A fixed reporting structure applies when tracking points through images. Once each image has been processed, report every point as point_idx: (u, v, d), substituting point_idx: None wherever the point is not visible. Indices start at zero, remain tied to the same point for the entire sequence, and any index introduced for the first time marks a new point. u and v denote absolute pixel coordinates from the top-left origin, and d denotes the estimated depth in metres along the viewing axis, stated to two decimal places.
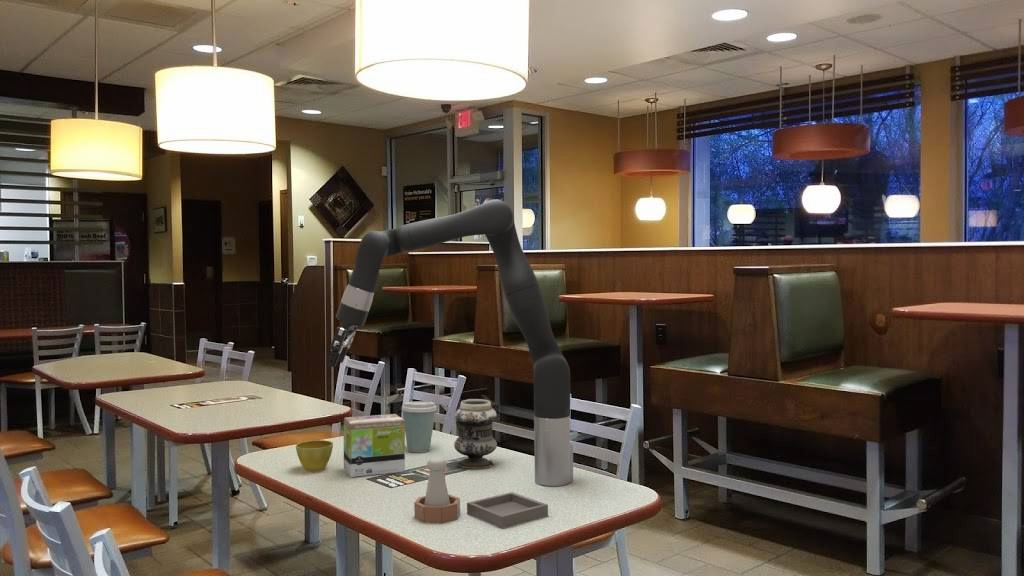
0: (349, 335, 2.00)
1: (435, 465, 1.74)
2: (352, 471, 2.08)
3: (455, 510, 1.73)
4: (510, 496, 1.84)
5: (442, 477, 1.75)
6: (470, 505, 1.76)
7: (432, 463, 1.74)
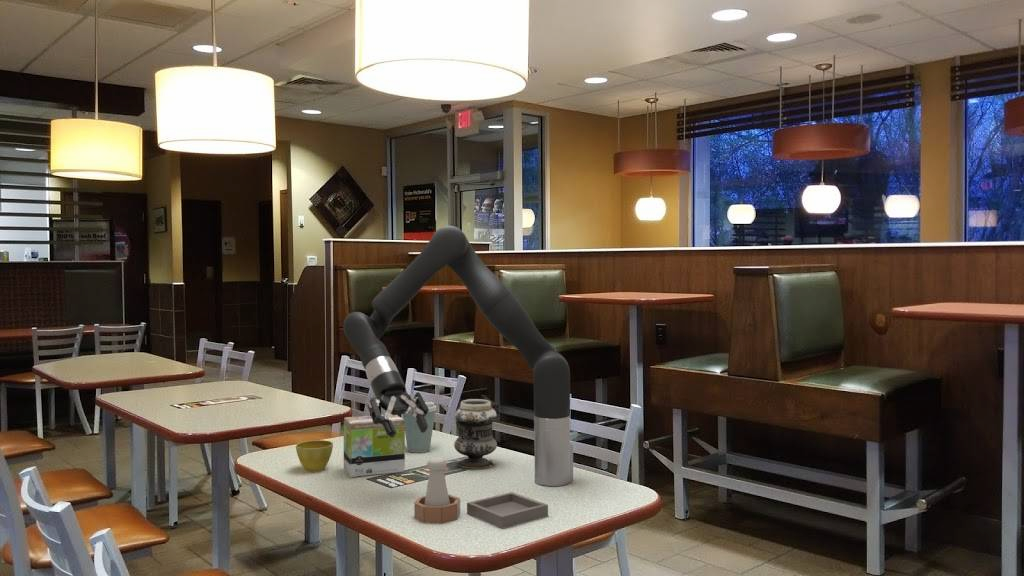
0: (390, 400, 1.87)
1: (435, 465, 1.74)
2: (352, 471, 2.08)
3: (455, 510, 1.73)
4: (510, 496, 1.84)
5: (442, 477, 1.75)
6: (470, 505, 1.76)
7: (432, 463, 1.74)
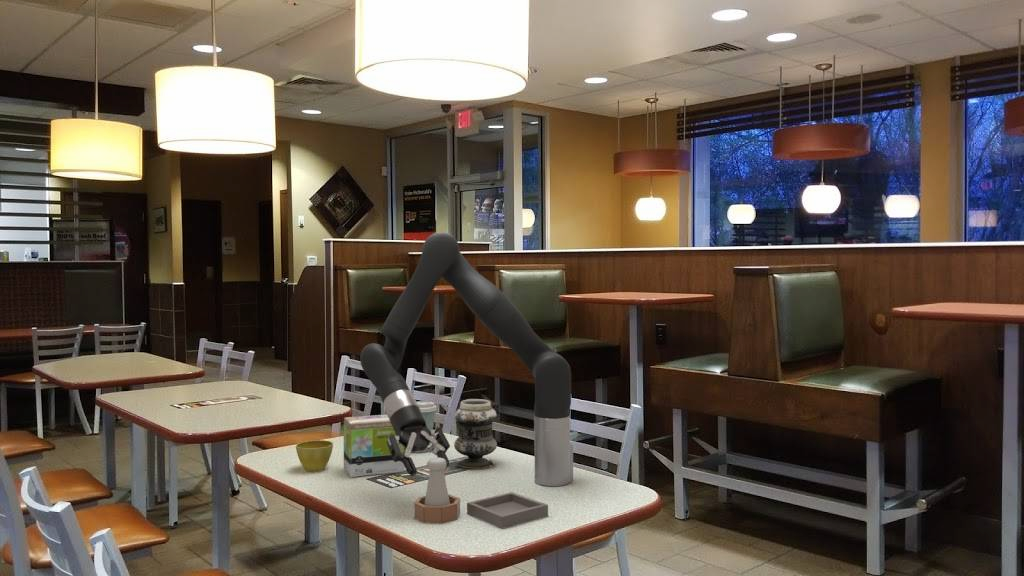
0: (410, 437, 1.80)
1: (435, 465, 1.74)
2: (352, 471, 2.08)
3: (455, 510, 1.73)
4: (510, 496, 1.84)
5: (442, 477, 1.75)
6: (470, 505, 1.76)
7: (432, 463, 1.74)
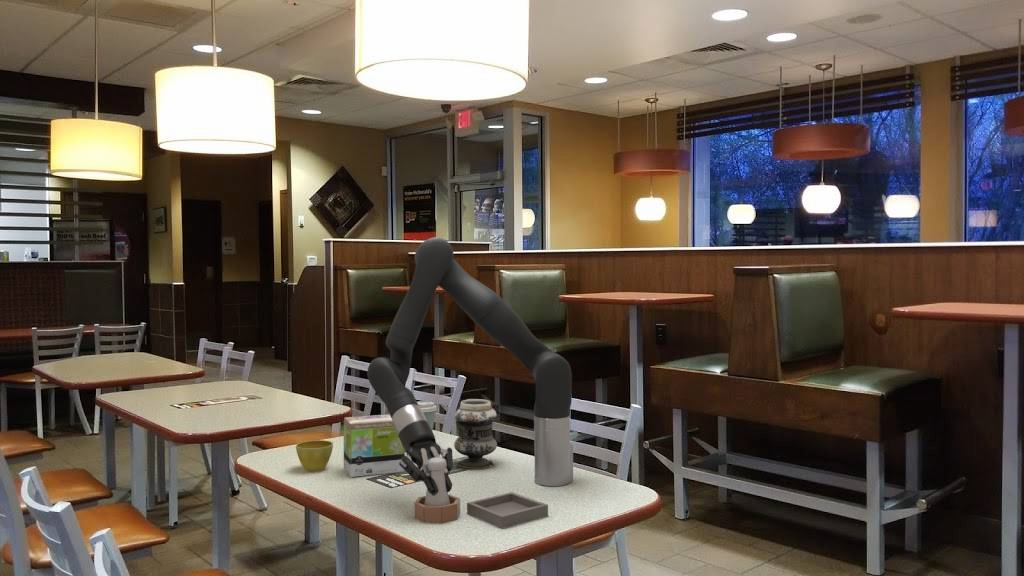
0: (421, 454, 1.77)
1: (435, 465, 1.74)
2: (352, 471, 2.08)
3: (455, 510, 1.73)
4: (510, 496, 1.84)
5: (442, 477, 1.75)
6: (470, 505, 1.76)
7: (432, 463, 1.74)
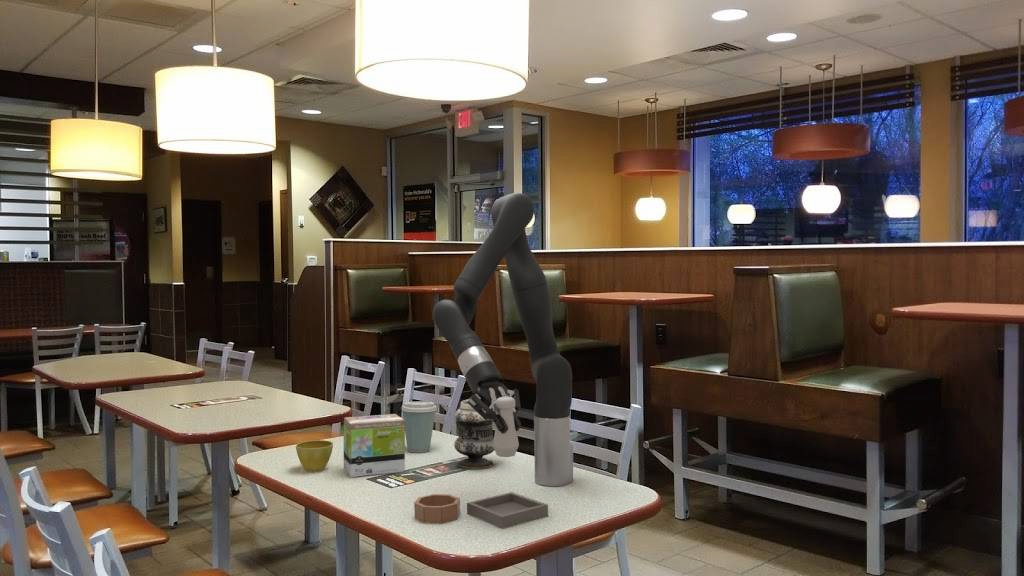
0: (489, 394, 1.77)
1: (505, 403, 1.74)
2: (352, 471, 2.08)
3: (455, 510, 1.73)
4: (510, 496, 1.84)
5: (511, 416, 1.75)
6: (470, 505, 1.76)
7: (502, 401, 1.74)
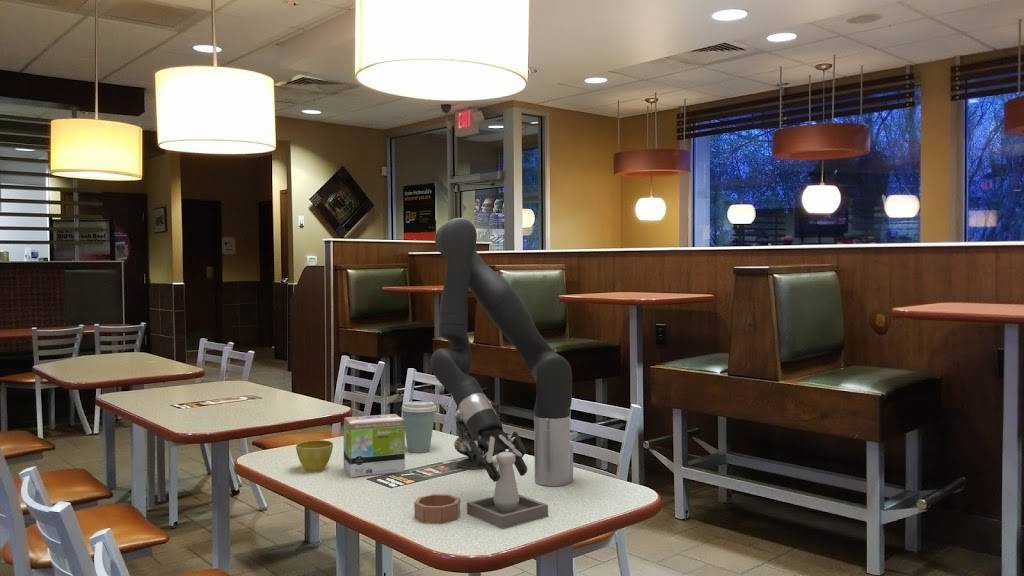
0: (489, 441, 1.77)
1: (505, 459, 1.75)
2: (352, 471, 2.08)
3: (455, 510, 1.73)
4: None
5: (511, 471, 1.76)
6: (470, 505, 1.76)
7: (502, 457, 1.75)
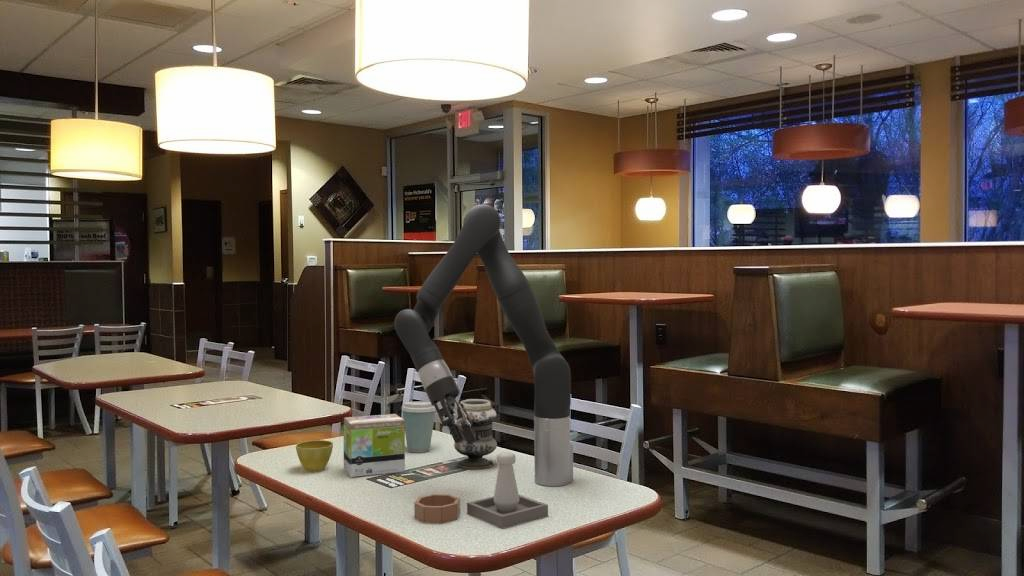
0: (453, 406, 1.87)
1: (506, 460, 1.75)
2: (352, 471, 2.08)
3: (455, 510, 1.73)
4: None
5: (512, 471, 1.76)
6: (470, 505, 1.76)
7: (502, 458, 1.75)
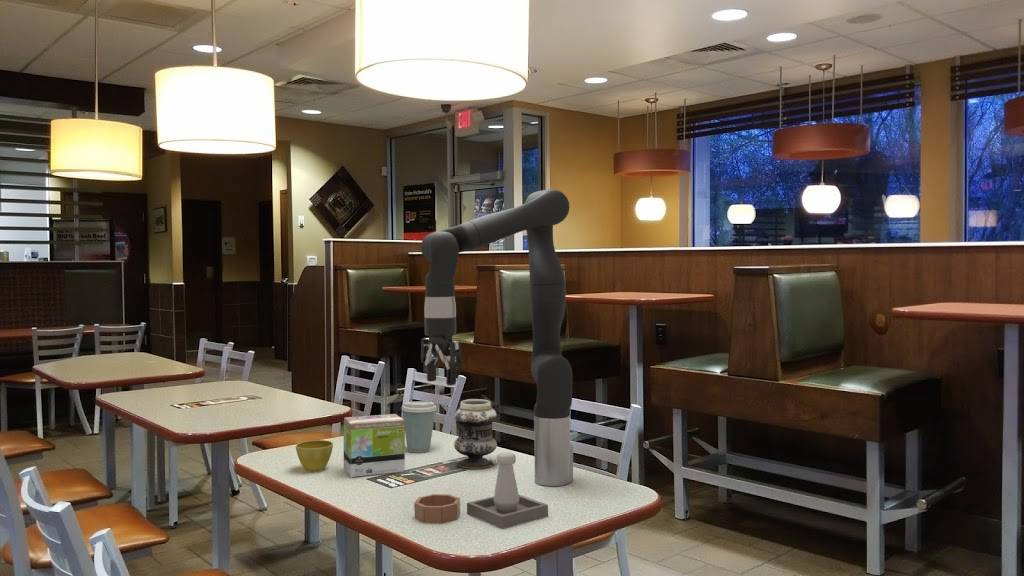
0: None
1: (506, 460, 1.75)
2: (352, 471, 2.08)
3: (455, 510, 1.73)
4: None
5: (512, 471, 1.76)
6: (470, 505, 1.76)
7: (502, 458, 1.75)
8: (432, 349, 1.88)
